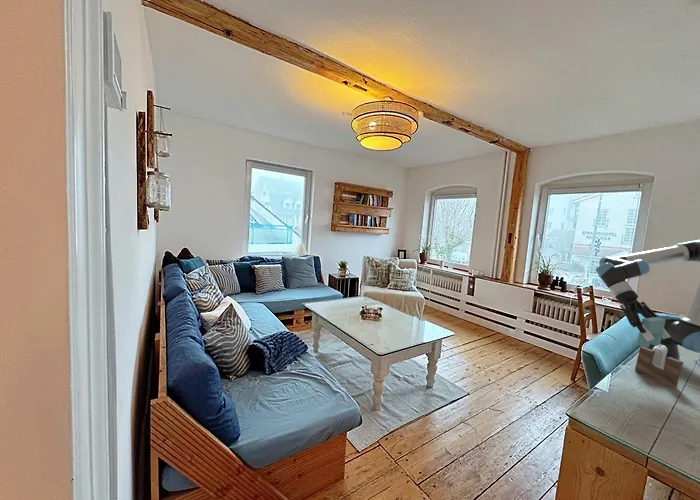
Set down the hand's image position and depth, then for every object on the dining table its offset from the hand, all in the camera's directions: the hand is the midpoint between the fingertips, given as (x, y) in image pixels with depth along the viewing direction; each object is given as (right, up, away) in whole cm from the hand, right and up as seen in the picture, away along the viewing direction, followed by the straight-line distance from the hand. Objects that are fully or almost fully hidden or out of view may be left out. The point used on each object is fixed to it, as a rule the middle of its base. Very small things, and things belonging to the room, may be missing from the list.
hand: (659, 339), depth 129 cm
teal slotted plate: (-1, -4, +3) cm, 5 cm away
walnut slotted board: (+6, -20, +8) cm, 23 cm away
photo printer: (+16, -20, +17) cm, 31 cm away
